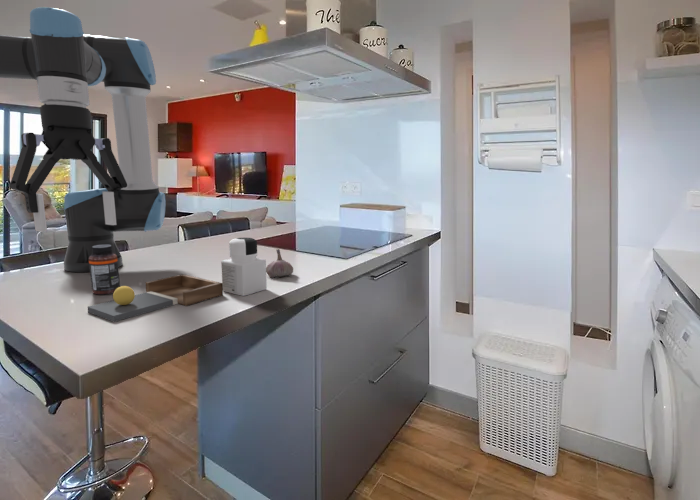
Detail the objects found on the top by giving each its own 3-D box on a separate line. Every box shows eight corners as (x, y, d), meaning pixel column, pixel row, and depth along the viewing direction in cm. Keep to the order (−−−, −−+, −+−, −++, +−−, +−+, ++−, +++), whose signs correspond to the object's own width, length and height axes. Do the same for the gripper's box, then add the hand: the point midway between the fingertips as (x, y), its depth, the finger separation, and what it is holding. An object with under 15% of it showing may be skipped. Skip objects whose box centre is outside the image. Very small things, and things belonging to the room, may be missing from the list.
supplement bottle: (99, 288, 104) (95, 243, 102) (124, 288, 105) (120, 243, 103) (87, 295, 99) (82, 247, 97) (113, 295, 99) (109, 247, 97)
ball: (110, 305, 88) (108, 286, 87) (128, 300, 91) (127, 282, 90) (120, 309, 86) (118, 290, 85) (139, 304, 89) (137, 285, 88)
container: (246, 284, 110) (244, 235, 107) (267, 289, 105) (266, 238, 103) (221, 291, 103) (219, 238, 101) (243, 296, 99) (241, 242, 97)
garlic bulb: (264, 279, 115) (263, 250, 114) (267, 273, 123) (267, 246, 121) (292, 279, 116) (292, 250, 114) (294, 273, 123) (293, 246, 122)
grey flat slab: (88, 312, 87) (87, 306, 87) (151, 296, 99) (150, 291, 98) (114, 321, 82) (113, 315, 82) (177, 303, 93) (177, 298, 93)
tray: (146, 294, 100) (145, 282, 99) (183, 285, 108) (182, 274, 107) (186, 306, 92) (185, 292, 91) (222, 295, 100) (222, 283, 99)
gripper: (-10, 93, 63) (9, 237, 67) (141, 112, 83) (149, 223, 87) (-28, 97, 67) (-9, 233, 71) (120, 115, 87) (128, 220, 91)
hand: (78, 227), depth 79 cm, fingers open, 11 cm apart
